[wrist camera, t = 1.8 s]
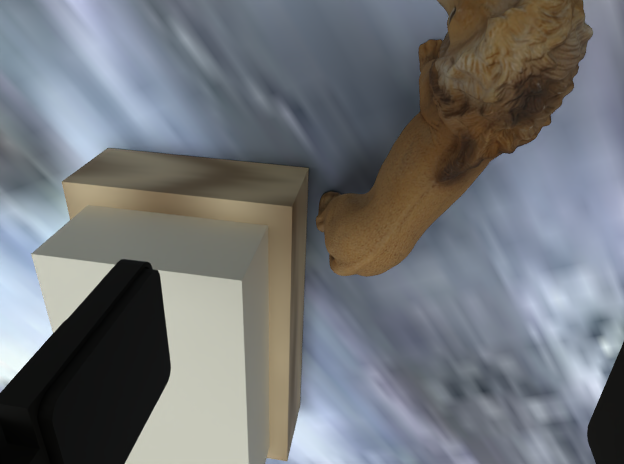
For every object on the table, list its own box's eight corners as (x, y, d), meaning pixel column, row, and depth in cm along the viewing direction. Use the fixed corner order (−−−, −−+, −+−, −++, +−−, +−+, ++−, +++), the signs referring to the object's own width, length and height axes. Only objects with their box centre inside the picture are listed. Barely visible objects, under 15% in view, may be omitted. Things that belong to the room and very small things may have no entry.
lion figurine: (443, -80, 19) (464, -84, 11) (574, -19, 19) (682, 18, 12) (301, 234, 27) (256, 359, 19) (397, 275, 27) (391, 414, 19)
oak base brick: (308, 167, 25) (292, 206, 21) (300, 405, 33) (287, 461, 29) (107, 147, 26) (61, 181, 22) (147, 381, 34) (117, 432, 31)
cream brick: (268, 225, 22) (241, 280, 18) (269, 446, 29) (250, 515, 26) (87, 205, 23) (31, 253, 19) (132, 423, 30) (96, 487, 27)
